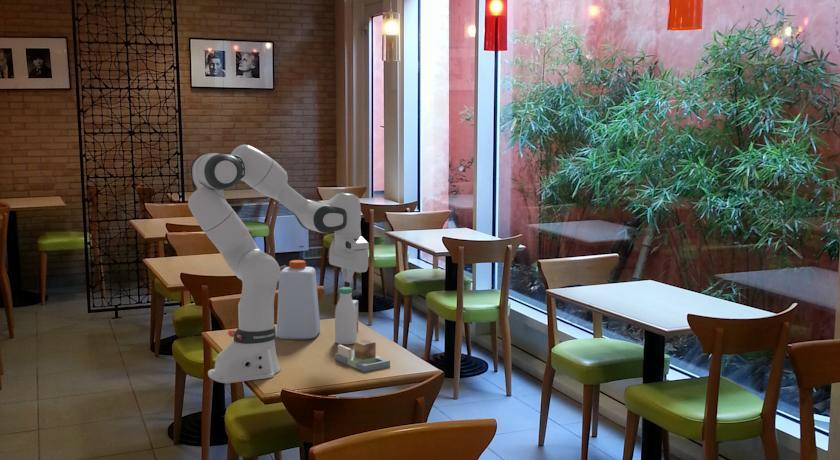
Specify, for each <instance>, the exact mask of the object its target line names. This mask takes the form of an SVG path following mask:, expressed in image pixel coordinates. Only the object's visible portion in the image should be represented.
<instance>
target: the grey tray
mask: <svg viewBox="0 0 840 460" xmlns="http://www.w3.org/2000/svg"><path fill="white" fill-rule="evenodd" d="M334 360H336V361H339V362H341V363H343V364H346V365H347V366H350V367H352V368H354V369H357V370H358V371H361V372H364V373H366V372H371V370H372V371H376V370H380V369H381V370H382V369H385V367H386V368H390V367H391V360H389V359H386V358H385V357H381V356H379V355H377V354H376V357H374V358H369V359H365V360H362V359H360V358H357V357H355V349H352V348H351V347H348V346H345V345H342V344H337V352H336V353H334Z"/></svg>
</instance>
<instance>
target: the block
mask: <svg viewBox="0 0 840 460" xmlns="http://www.w3.org/2000/svg"><path fill="white" fill-rule="evenodd" d="M376 345H377V344H376V341H373V340H370V339H360V340H357V341H355V342H354V350H355V357H357V358H360V359H362V360H365V359H369V358H374V357H376V355H377V354H376V353H377V351H376V348H377V347H376Z"/></svg>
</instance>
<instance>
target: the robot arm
mask: <svg viewBox="0 0 840 460" xmlns="http://www.w3.org/2000/svg"><path fill="white" fill-rule="evenodd" d="M189 173H190V178H191V183H192V189H193V190H194V191H193V192H192V193H191V195H190V196H189V198H188V201H187V205H188V209H189V211H190V212H191V214H192V216H193V217H194V220H195V221H196V223H197V224H198V225H199V227H200V228H201V230H202V231H203V232H204V233H205V235H206V236H207V238H208V239H209V240H210V241H211V243H212V244H213V245H214V246H215V248H216V249H217V250H218V251H219V253H220V255H221V256H222V258H223V259H224V261H225V262H226V264H227V266H228V267H229V268H230V270H231V271H232V272H233V274H234V275H235V276H236V277H237V278H238V279H239V280H240V281H241V284H242V287H241V295H240V299H239V301H238V305H237V306H238V307H237V308H238V309H237V313H238V328H237V329H236V330H233V329H229V330H228V329H227V330H228V331H227V335H228V336H229V337H232V338H233V340H232V341H231V343H229V344H228V345H227V346H226V347H225V348H224V349H222V351H220V352H219V353H218V354H217V355H216V357H215V363H214V368H211V369H209V370H208V371H207V377H208V378H210V379H211V380H212V381H215V382H217V383H221V384H232V383H233V384H234V383H240V382H249V381H257V380H264V379H271V378H273V377H274V376H275V374H277V373H279V372H280V371H281V367H280V365H279V360H278V354H277V351H276V349H277V348H276V343H277V341H276V340H277V335H276V330H277V329H276V326H275V309H274V307H275V306H274V305H275V297H276V292H277V285H278V283H279V278H280V273H281V271H282V270H281V267H280V265H279V263H278V261H277V260H276V259H275V258H274V257H273V256H272V255H271V254H268V253H266V252H264V251H263V250H262V249H260V247H259V246H258V245H257V243H256V242H255V239H254V238H253V237H252V235H251V233H250V230H249V228H248V227H247V225H246V224H245V223H244V221H242V219H241V218H240V216H239V215H238V213H237V212H236V211H235V210H234V209H233V208H232V206H231V204H229V203H228V202H227V199H226V197H225V195H224V194H225V193H224V190H228V189H230V188H232V187H233V186H235V185H236V184H238V182H239V181H242V182H244V183H245V184H246V185H248V187H250V188H252V189H253V190H254V191H256V192H258V193H259V194H261V195H264V196H265V197H268V198H270V199H274V200H275V201H277V202H278V203H279V204H281V205H282V206H283V207H285V208H286V209H287V210H288V211H290V212H291V213H292V214H293V215H294V217H295V219H296V220H297V222H298V224H299V225H300V226H301V228H303V229H304V230H308V231H313V232H318V233H320V234H331V233H333V232H334V238H333V239H332V241H331V244H330V246H329V253H328V263H329V265H331V266H335V267H339V268H340V270H341V274H342V278H343V281H344V282H347V283H352V282H353V276H354V274H355V273H366V272H367V271H368V268H369V251H368V249H369V247H370V243H369V242H368V241H367V240H366V239H365V238H364V237H363V236H362V230H361V229H362V228H361V221H362V212H361V211H362V208H361V201H360V198H359V196H358V195H355V194H354V193H347V192H346V193H345V192H337V193H336V194H335V195H334V196H333V197H331V198H330V199H328V200H326V201H325V202H320V201H317V200H313V199H308V198H305V197H304V196H303V195H302V194H301V193H299V192H298V191H296V190H295V189H294V188H293V187H291V186H290V185H289V184H288V180H289V178H288V172H287V171H286V170H285V169H284V168H283V167H282V166H281V164H279V163H278V162H277V161H276V160H275V159H273V158H271V157H270V156H269V155H267V154H266V153H264V152H263V151H261V150H260V149H258V148H255V147H254V146H252V145H249V144H246V143H245V144H241V145H239V146H236V147H235V148H234V149H233V150H232V152H231V153H230V154H226V153H218V152H210V153H203V154H200V155H198V156H197V157H195V158H194V160H193V161H192V162H191V164H190V169H189Z"/></svg>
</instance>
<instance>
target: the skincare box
mask: <svg viewBox="0 0 840 460" xmlns="http://www.w3.org/2000/svg"><path fill="white" fill-rule="evenodd" d="M352 300H353V303H354V305H355V307H356V320H357V332H359V300H357V299H352Z"/></svg>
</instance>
